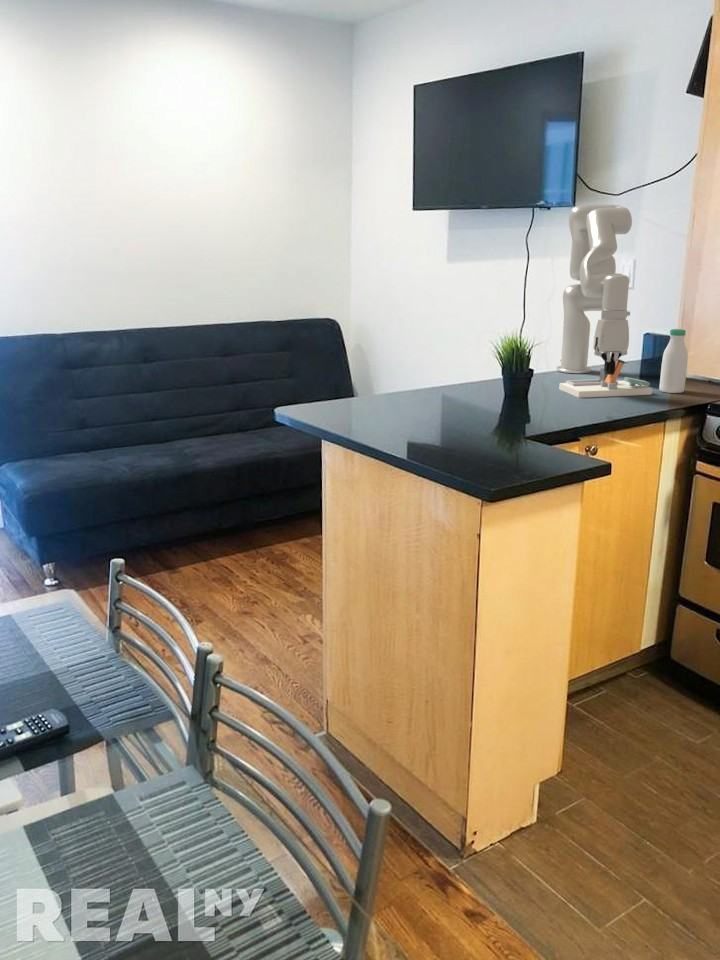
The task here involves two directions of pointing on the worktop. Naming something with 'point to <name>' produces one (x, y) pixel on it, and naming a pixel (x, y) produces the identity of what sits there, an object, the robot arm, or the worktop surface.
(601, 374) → the slider
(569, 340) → the robot arm
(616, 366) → the lever
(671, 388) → the milk bottle
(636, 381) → the rocker
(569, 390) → the panel
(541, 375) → the worktop surface
